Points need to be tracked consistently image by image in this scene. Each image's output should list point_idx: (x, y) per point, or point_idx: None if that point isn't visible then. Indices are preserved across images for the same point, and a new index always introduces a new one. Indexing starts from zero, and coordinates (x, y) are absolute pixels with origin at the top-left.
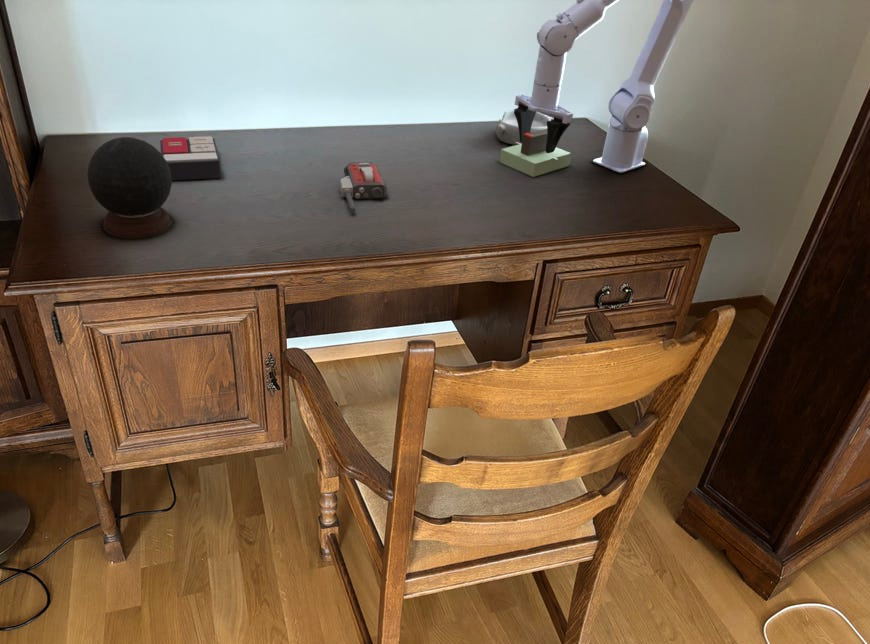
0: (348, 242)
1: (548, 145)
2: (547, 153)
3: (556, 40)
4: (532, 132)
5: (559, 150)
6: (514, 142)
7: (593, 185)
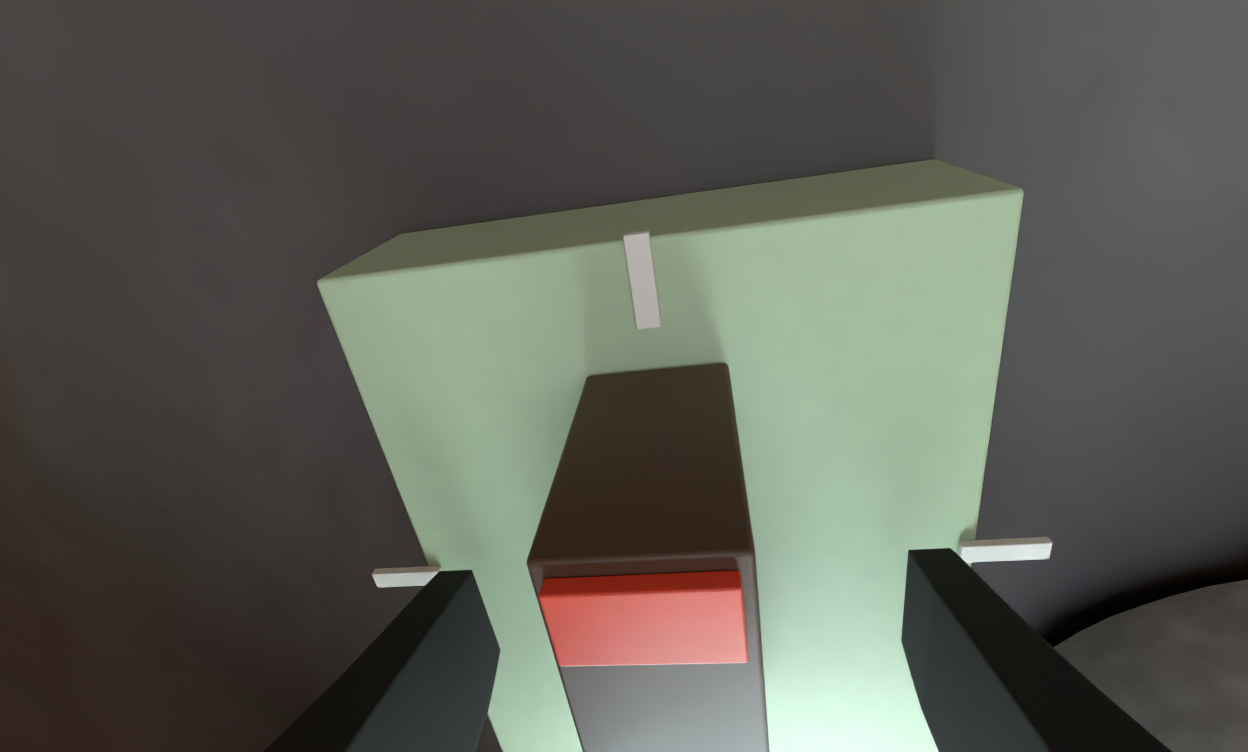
0: None
1: (381, 646)
2: None
3: None
4: (762, 748)
5: None
6: (1161, 617)
7: (158, 560)
